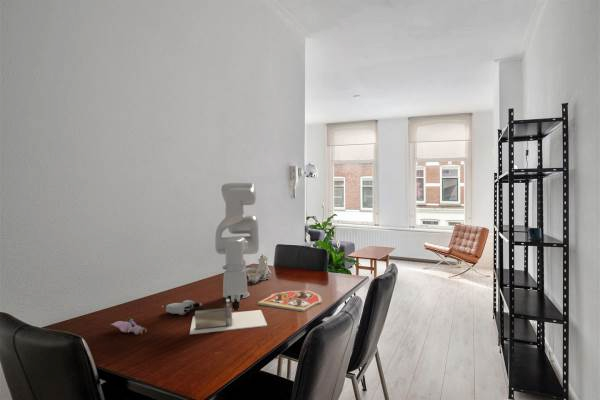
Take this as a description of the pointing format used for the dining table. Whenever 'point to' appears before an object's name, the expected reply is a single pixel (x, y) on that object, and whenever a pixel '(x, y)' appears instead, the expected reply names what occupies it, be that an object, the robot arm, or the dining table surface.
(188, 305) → the robot toy
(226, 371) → the dining table surface
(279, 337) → the dining table surface
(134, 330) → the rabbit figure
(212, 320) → the fence base
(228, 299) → the fence panel
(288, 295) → the knob puzzle
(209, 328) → the card
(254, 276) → the chinaware
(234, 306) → the robot arm
